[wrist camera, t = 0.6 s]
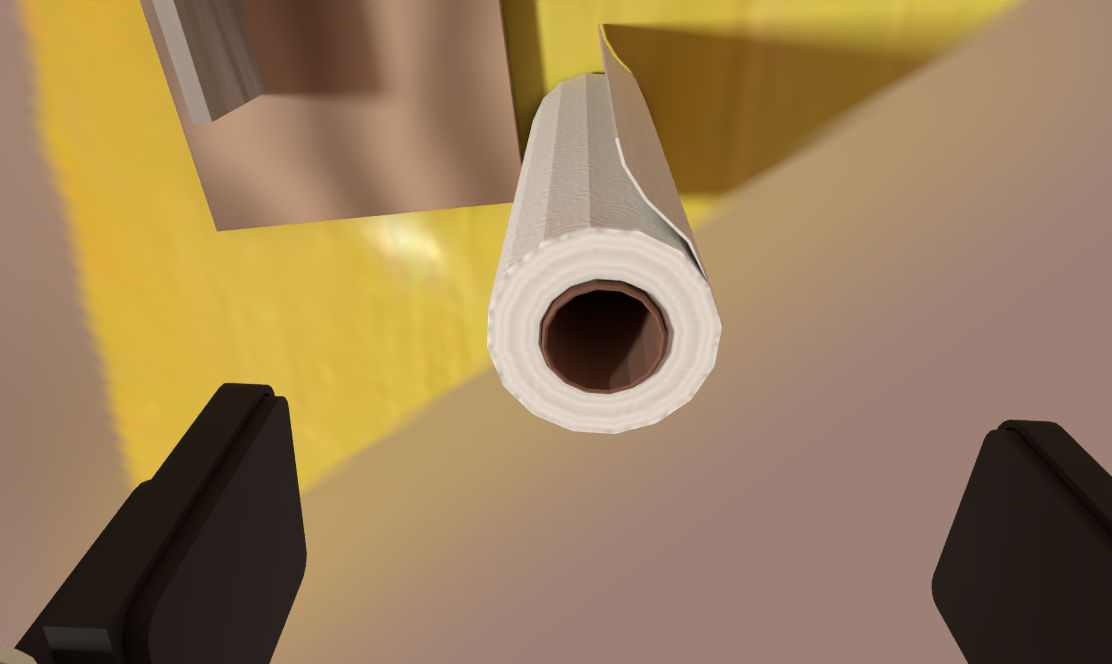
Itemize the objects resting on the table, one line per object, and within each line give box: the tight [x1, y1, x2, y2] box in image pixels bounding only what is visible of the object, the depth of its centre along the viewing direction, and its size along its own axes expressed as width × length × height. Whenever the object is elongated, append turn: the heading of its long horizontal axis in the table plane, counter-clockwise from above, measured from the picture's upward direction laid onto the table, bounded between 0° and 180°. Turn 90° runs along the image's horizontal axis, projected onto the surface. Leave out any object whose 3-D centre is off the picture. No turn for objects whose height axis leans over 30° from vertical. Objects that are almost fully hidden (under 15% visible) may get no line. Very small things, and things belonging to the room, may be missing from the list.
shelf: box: [140, 0, 523, 231], centre depth 32 cm, size 16×16×12 cm
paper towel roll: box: [487, 24, 722, 434], centre depth 29 cm, size 7×6×21 cm
